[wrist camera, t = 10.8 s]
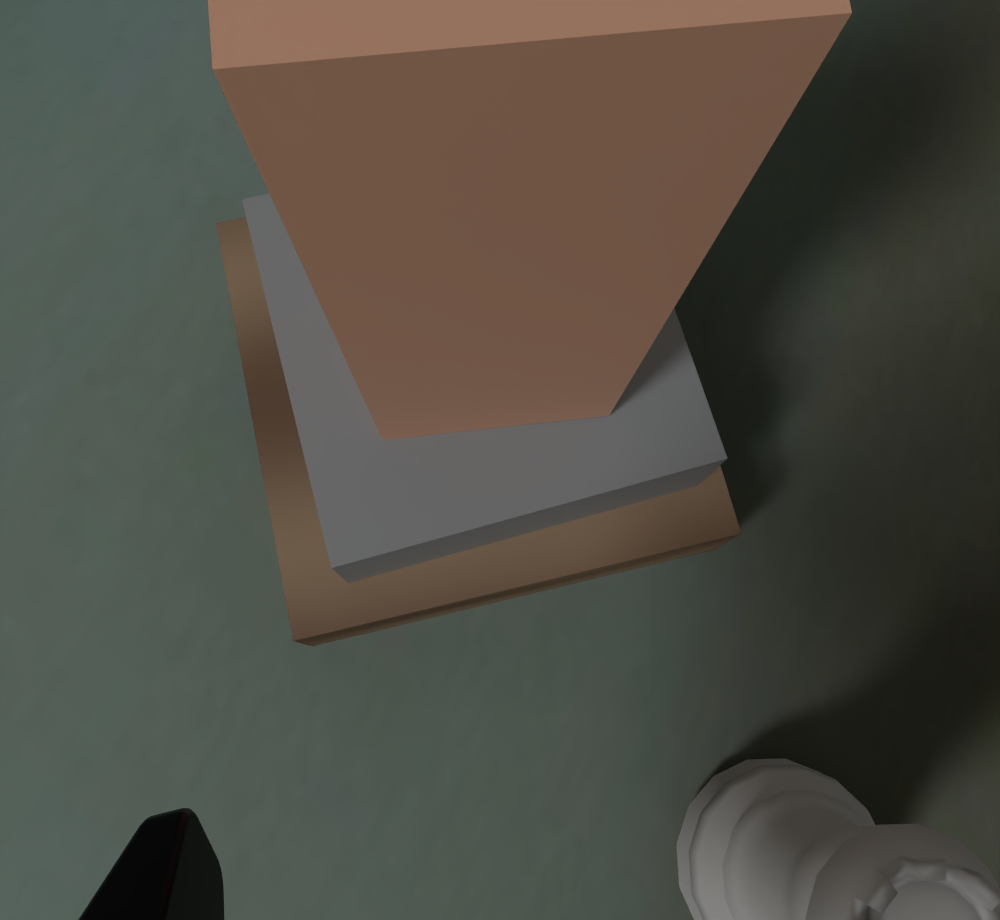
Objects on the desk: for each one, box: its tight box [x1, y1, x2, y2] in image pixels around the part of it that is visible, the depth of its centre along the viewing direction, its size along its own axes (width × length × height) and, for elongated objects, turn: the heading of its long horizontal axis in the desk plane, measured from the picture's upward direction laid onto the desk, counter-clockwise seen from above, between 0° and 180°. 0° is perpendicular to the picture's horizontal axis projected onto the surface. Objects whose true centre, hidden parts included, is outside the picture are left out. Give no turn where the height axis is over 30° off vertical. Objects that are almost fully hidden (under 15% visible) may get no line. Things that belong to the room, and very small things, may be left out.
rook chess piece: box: [676, 758, 1000, 920], centre depth 17 cm, size 4×4×8 cm
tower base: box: [216, 217, 741, 646], centre depth 23 cm, size 10×10×3 cm
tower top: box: [242, 193, 728, 583], centre depth 20 cm, size 8×8×2 cm
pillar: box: [208, 0, 852, 440], centre depth 13 cm, size 4×4×12 cm
